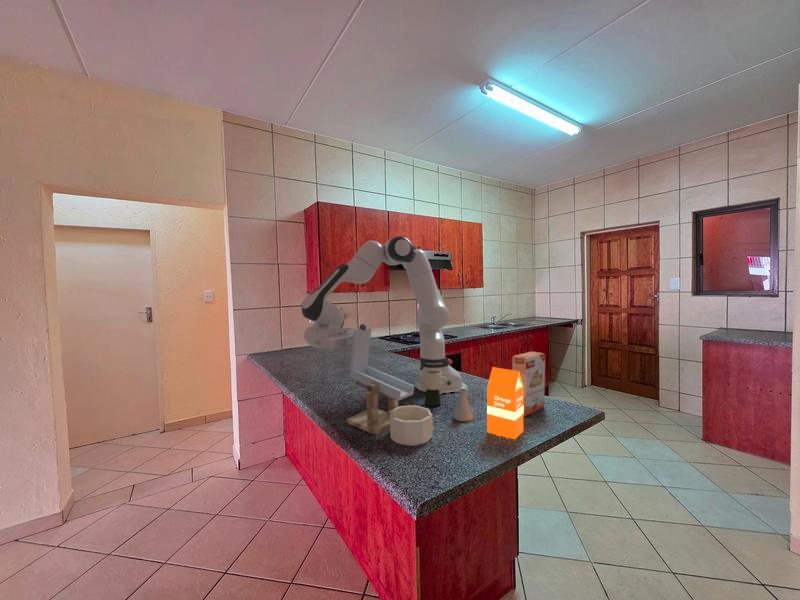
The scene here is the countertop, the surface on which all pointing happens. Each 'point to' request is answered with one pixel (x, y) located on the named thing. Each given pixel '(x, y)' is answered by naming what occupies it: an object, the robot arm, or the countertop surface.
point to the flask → (462, 407)
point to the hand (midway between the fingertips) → (359, 342)
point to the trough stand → (373, 413)
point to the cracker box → (531, 379)
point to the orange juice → (505, 403)
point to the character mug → (432, 385)
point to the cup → (411, 425)
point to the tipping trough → (371, 375)
